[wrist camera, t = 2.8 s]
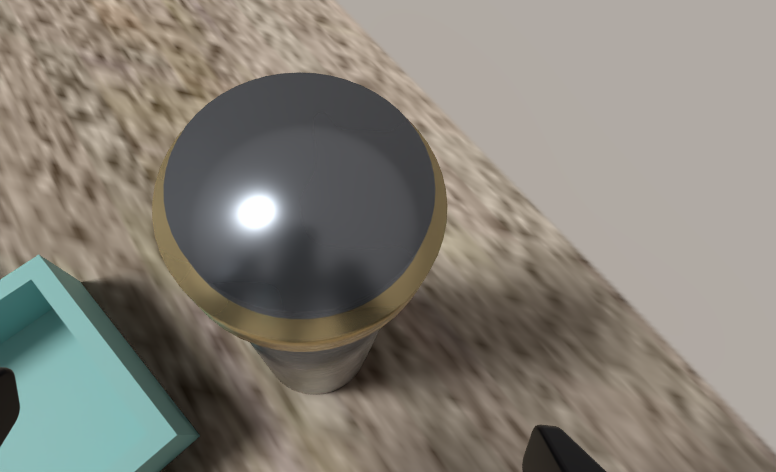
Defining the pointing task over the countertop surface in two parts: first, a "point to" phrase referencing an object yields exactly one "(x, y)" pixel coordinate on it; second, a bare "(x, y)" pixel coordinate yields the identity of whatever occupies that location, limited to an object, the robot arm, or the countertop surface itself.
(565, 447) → the robot arm
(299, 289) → the metal canister
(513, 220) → the countertop surface
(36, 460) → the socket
